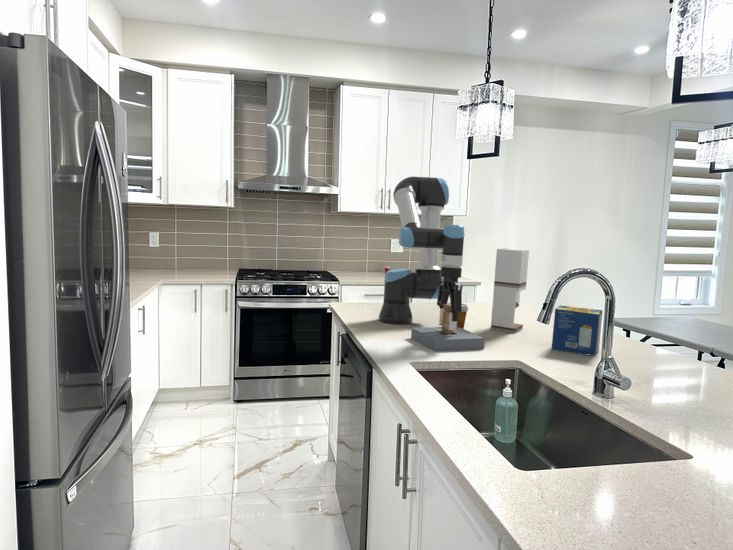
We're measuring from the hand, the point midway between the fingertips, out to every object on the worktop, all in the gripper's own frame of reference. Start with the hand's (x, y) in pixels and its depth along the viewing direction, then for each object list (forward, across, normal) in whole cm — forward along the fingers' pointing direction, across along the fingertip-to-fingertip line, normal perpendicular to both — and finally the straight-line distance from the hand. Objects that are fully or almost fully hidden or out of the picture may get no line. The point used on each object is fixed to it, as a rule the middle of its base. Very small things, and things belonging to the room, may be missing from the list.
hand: (447, 327), depth 193 cm
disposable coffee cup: (+6, -15, +12) cm, 20 cm away
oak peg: (+6, 0, 0) cm, 6 cm away
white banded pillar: (+6, -19, +40) cm, 45 cm away
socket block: (+6, 0, 0) cm, 6 cm away
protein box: (+6, +17, +45) cm, 49 cm away
